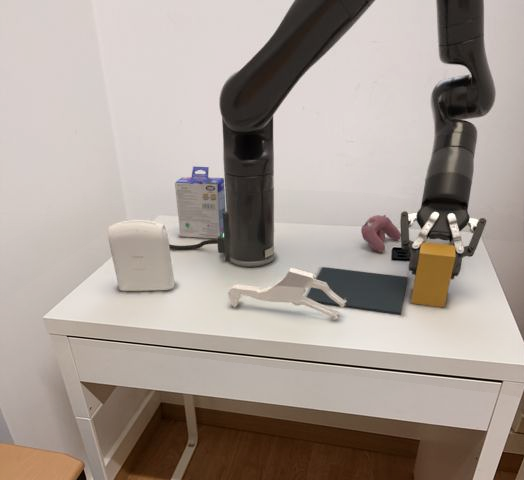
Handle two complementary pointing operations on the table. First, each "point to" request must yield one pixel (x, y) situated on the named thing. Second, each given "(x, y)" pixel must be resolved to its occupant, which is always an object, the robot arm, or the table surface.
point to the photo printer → (141, 255)
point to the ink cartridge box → (200, 205)
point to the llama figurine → (289, 291)
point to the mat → (362, 290)
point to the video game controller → (379, 231)
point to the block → (433, 274)
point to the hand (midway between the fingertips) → (433, 274)
